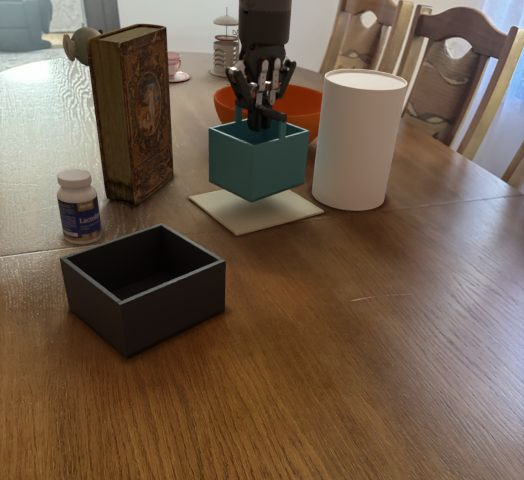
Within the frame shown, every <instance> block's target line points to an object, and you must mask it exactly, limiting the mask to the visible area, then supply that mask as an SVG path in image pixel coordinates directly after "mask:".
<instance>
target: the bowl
mask: <svg viewBox="0 0 524 480" xmlns="http://www.w3.org/2000/svg"><path fill="white" fill-rule="evenodd" d="M253 83H254V82H253ZM255 84H257V83H255ZM280 84H281V83H279V84H278V88H277V90H278V89H279V86H280ZM267 92H268V89H267ZM322 96H323V91H320V90H317V89H314V88H311V87H307V86H303V85H302V86H301V85H297V84H291V83H289V84H288V86H287V89H286V91H285V93H284V95H283V98H282V99H277V100H276V101H275V103H274V105H273V108H272V109H274V110H277V111H279V112H282V113H285V114H287V123H289V124H292V125H295V126H298V127H300V128H303V129H306V130H309V131H310V133H309V143H308V145H310V144H311V143H312V142H313V141H314V140H315V139H316V138H318V131H319V123H320V114H321V105H322ZM253 98H255V92H254V94H253ZM235 100H236V96H235V94H234V92H233V89H232V87H231V85H230V84H229V85H226V86H224V87H221V88H219V89H218V90H216V91H215V92H214V94H213V105H214V109H215V112H216V114H217V118H218V119H219V121H220V123H221V125H223V124H227V123H231V122H235ZM247 114H248V110H246V109H243V108H242V120H243V119H247V118H248V117H247Z"/></svg>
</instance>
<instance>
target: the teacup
mask: <svg viewBox="0 0 524 480" xmlns="http://www.w3.org/2000/svg"><path fill="white" fill-rule="evenodd" d="M181 58H182V54H181V53H180V52H176V51H168V69H169V83H178V82H183V81H187V80H189V79H190V78H191V77H190V74H189V73H186V72H184V71H181V70H180V69H181V65H182V60H181ZM179 70H180V71H179Z"/></svg>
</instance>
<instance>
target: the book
mask: <svg viewBox="0 0 524 480" xmlns="http://www.w3.org/2000/svg"><path fill="white" fill-rule="evenodd" d="M167 30H168V29H167V27H166V26H164V25H161V24H152V23H135V24H131V25H128V26H124V27H121V28H118V29H114V30H110V31H107V32H103V34H101V35H97V36H94V37H90V38H88V39H87V54H88V62H89V66H88V68H89V69H88V70H89V76H90V85H91V93H92V101H93V107H94V108H93V109H94V117H95V123H96V132H97V140H98V148H99V155H100V163H101V172H102V179H103V187H104V193H105V197H106V200H122V201H127V202H129V203H131V204H133V205H134V206H137V205H139V204H141V203H143V202H144V201H145V200H146V199H147V198H149V197H150V196H151V195H153V194H154V193H155V192H156V191H158V190H159V189H160V188H162V187H163V186H164V185H165V184H167V183H168V182H169V181H170V180H172V179H173V178H174V177H175V173H174V156H173V155H174V153H173V135H172V134H173V133H172V113H171V112H172V111H171V95H170V94H171V91H170V82H169V69H168V31H167Z"/></svg>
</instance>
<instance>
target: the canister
mask: <svg viewBox="0 0 524 480" xmlns="http://www.w3.org/2000/svg"><path fill="white" fill-rule="evenodd" d="M322 88H323V89H322V93H323V96H322V105H321V114H320V123H319V131H318V136H317V141H316V151H315V157H314V159H315V160H314V168H313V177H312V185H311V195H312V197H313V198H314V199H315V200H316V201H318V202H319V203H321V204H323V205H325V206H327V207H331V208H333V209H337V210H343V211H355V212H356V211H357V212H359V211H369V210H373V209H376V208H378V207H380V206H382V205H383V204H384V201H385V198H386V194H387V189H388V188H387V187H388V183H389V179H390V173H391V168H392V164H393V157H394V153H395V147H396V143H397V138H398V133H399V129H400V122H401V118H402V114H403V108H404V103H405V99H406V93H407V88H408V81H407V80H406V79H405V78H403V77H401V76H399V75H396V74H393V73H390V72H385V71H379V70H373V69H364V68H341V69H339V68H338V69H334V70H330V71H327V72H326V73H325V74H324V80H323V87H322Z"/></svg>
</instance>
